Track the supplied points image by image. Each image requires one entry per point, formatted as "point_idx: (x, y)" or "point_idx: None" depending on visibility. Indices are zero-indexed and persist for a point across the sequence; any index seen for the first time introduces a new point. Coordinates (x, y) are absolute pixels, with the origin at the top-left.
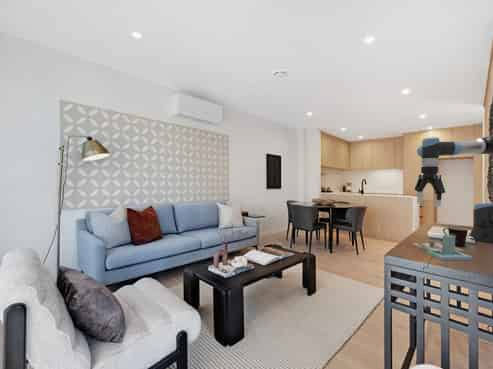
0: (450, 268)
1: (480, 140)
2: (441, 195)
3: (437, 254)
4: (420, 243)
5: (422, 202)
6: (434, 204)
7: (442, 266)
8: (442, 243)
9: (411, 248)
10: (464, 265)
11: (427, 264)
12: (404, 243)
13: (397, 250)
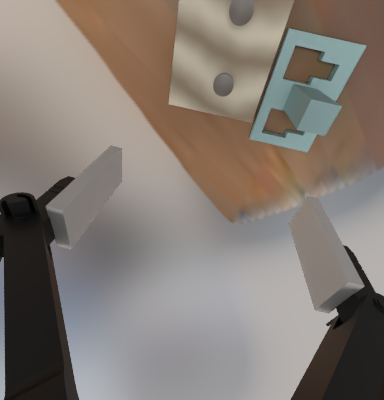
0: (348, 180)
1: None
2: (371, 285)
3: (289, 143)
4: (176, 79)
5: (119, 152)
6: (292, 232)
7: (331, 184)
8: (289, 118)
9: (202, 140)
10: (363, 128)
11: None
12: (152, 117)
13: (207, 187)
